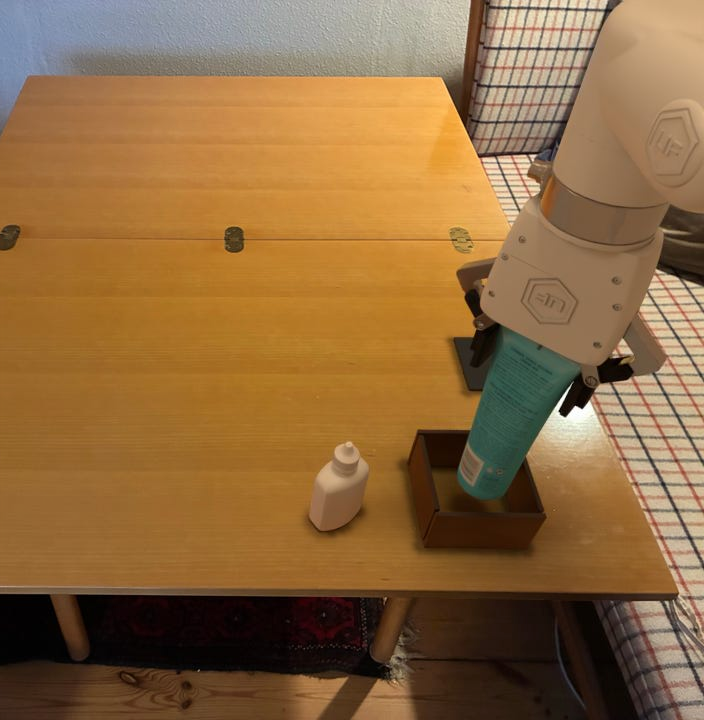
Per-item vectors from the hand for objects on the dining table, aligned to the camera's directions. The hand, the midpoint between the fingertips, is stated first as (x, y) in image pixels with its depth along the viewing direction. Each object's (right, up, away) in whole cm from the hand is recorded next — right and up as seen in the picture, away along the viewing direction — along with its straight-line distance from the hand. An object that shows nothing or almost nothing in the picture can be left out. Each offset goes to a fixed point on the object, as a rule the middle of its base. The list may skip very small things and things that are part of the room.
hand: (524, 381), depth 59 cm
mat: (+9, +1, +29) cm, 30 cm away
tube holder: (0, -13, +15) cm, 20 cm away
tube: (0, -10, +10) cm, 15 cm away
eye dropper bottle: (-14, -14, +14) cm, 24 cm away
